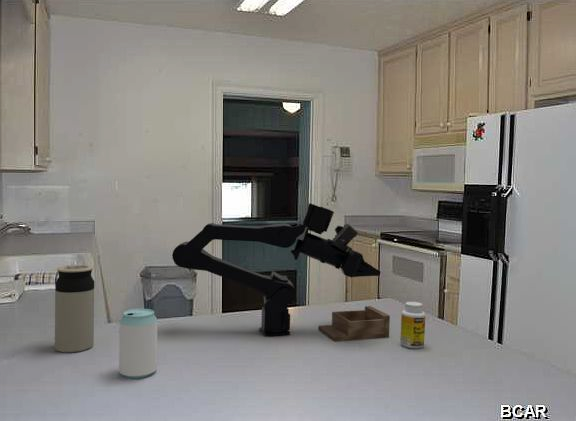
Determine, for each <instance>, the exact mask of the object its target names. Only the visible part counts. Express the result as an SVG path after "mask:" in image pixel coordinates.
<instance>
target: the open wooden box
mask: <svg viewBox="0 0 576 421" xmlns="http://www.w3.org/2000/svg"><path fill="white" fill-rule="evenodd" d="M331 316H332V317H331V324H327V325H318V328H317V329H319V330H318V331H320V332H321V333H322V332H323V333H322V334H324V335H325V336H326V335H327V336H326V337H328V338H329V339H330V340H332V341H333V342H343V341H344V342H345V341H346V342H347V341H358V340H370V339H382V338H390V320H391V317H390V316H391V315H389V314H388V313H386V312H384V311H381V310H379V309H377V308H375V307H373V306H371V305H368V306H367V305H365V306H364V309H357V310H356V309H355V310H343V311H331Z"/></svg>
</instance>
